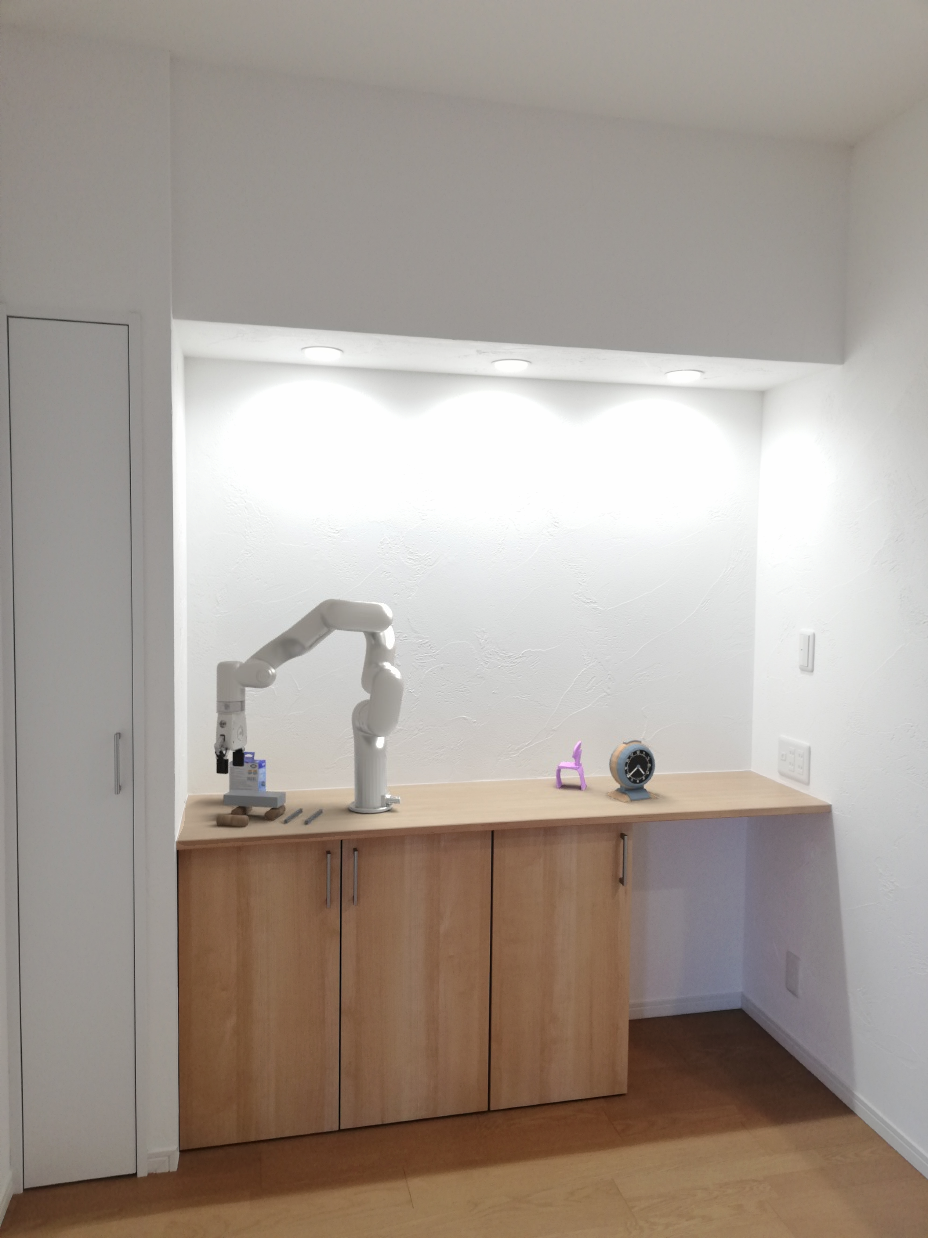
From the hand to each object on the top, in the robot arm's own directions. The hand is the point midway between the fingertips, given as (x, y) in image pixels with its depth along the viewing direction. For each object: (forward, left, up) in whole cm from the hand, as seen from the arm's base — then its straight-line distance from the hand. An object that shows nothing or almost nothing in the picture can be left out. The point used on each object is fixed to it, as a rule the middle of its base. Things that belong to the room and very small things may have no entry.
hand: (230, 770), depth 238 cm
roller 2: (0, 0, -15) cm, 15 cm away
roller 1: (+2, -10, -15) cm, 19 cm away
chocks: (-17, -10, -15) cm, 25 cm away
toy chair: (-88, -60, -15) cm, 108 cm away
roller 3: (-7, -10, -15) cm, 20 cm away
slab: (-2, -10, -12) cm, 16 cm away
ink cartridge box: (+7, -26, -15) cm, 31 cm away
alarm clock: (-107, -51, -15) cm, 120 cm away
